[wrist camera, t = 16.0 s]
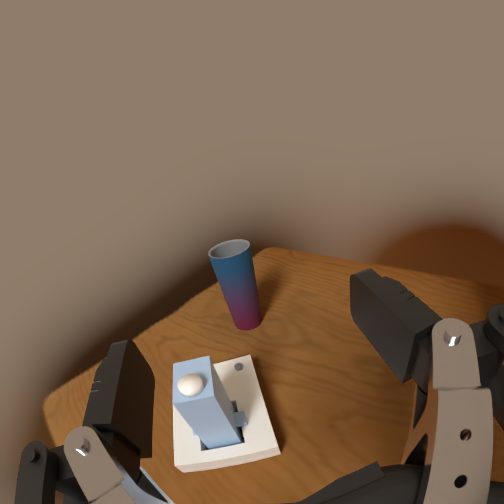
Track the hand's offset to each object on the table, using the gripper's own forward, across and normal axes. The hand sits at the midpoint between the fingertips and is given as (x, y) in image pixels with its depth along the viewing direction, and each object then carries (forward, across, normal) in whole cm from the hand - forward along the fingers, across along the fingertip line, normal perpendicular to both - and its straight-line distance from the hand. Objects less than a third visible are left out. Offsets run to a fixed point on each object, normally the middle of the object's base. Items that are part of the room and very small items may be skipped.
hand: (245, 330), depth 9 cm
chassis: (+14, +7, +26) cm, 30 cm away
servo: (+10, +7, +25) cm, 28 cm away
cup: (+33, 0, +26) cm, 42 cm away
